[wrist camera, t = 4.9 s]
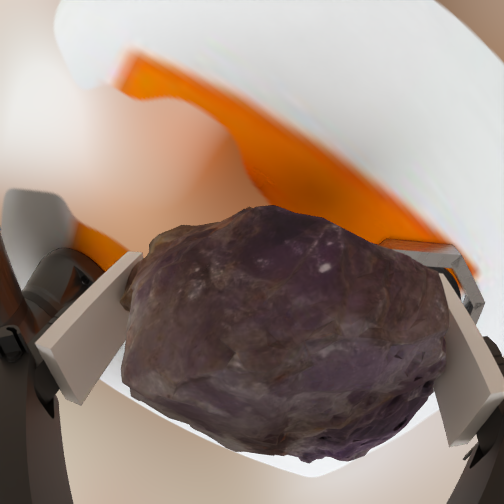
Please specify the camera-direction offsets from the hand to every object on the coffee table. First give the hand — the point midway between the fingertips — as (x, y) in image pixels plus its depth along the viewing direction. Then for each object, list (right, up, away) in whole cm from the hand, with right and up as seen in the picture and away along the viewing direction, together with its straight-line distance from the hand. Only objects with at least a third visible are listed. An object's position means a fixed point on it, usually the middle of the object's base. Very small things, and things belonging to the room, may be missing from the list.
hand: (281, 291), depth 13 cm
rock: (+1, +1, +1) cm, 2 cm away
